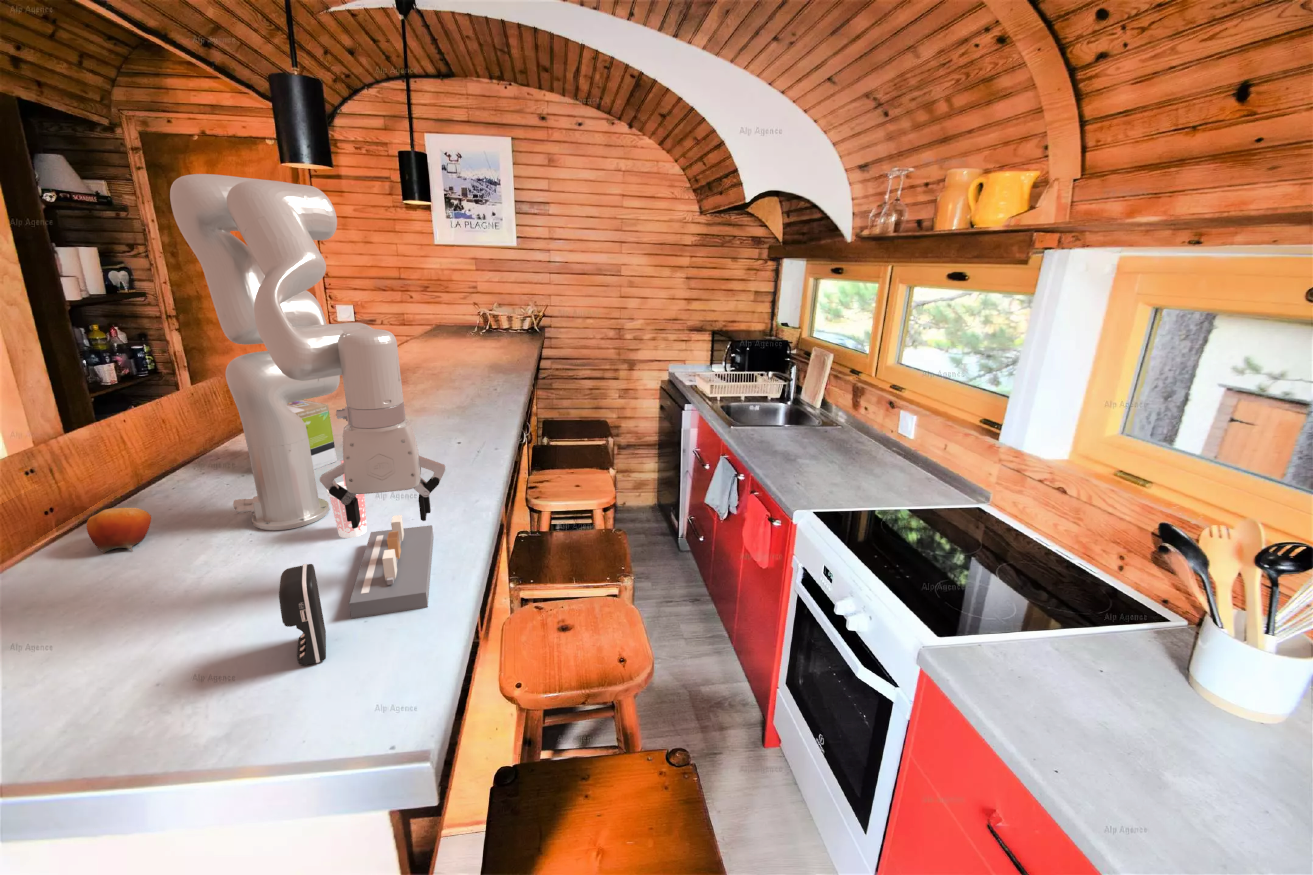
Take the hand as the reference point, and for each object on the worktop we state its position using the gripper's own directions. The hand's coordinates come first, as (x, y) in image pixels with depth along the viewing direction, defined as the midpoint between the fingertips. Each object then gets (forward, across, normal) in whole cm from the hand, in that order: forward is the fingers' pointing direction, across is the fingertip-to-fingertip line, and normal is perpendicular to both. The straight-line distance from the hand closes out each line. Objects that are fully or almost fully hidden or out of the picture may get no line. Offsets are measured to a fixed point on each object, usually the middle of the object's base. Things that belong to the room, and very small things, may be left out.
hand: (390, 520), depth 89 cm
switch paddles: (+6, 0, 0) cm, 6 cm away
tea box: (+10, -27, +58) cm, 65 cm away
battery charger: (+10, -9, -17) cm, 21 cm away
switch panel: (+9, 0, 0) cm, 9 cm away
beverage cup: (+10, -9, +17) cm, 21 cm away
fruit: (+10, -45, +22) cm, 51 cm away
